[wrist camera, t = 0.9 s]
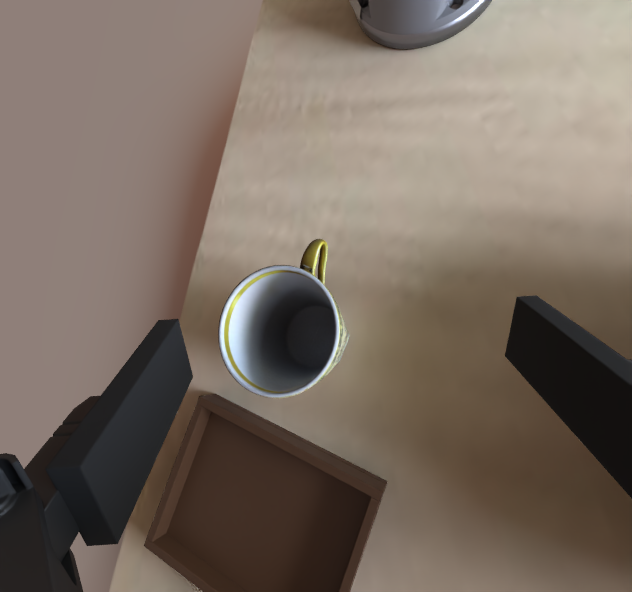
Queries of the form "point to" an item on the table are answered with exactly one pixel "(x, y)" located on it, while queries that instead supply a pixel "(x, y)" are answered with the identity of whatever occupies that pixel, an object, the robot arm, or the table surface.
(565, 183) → the table surface
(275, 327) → the ceramic cup
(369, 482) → the tray
